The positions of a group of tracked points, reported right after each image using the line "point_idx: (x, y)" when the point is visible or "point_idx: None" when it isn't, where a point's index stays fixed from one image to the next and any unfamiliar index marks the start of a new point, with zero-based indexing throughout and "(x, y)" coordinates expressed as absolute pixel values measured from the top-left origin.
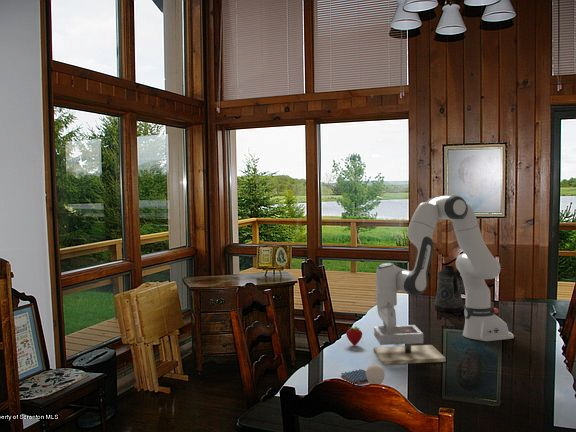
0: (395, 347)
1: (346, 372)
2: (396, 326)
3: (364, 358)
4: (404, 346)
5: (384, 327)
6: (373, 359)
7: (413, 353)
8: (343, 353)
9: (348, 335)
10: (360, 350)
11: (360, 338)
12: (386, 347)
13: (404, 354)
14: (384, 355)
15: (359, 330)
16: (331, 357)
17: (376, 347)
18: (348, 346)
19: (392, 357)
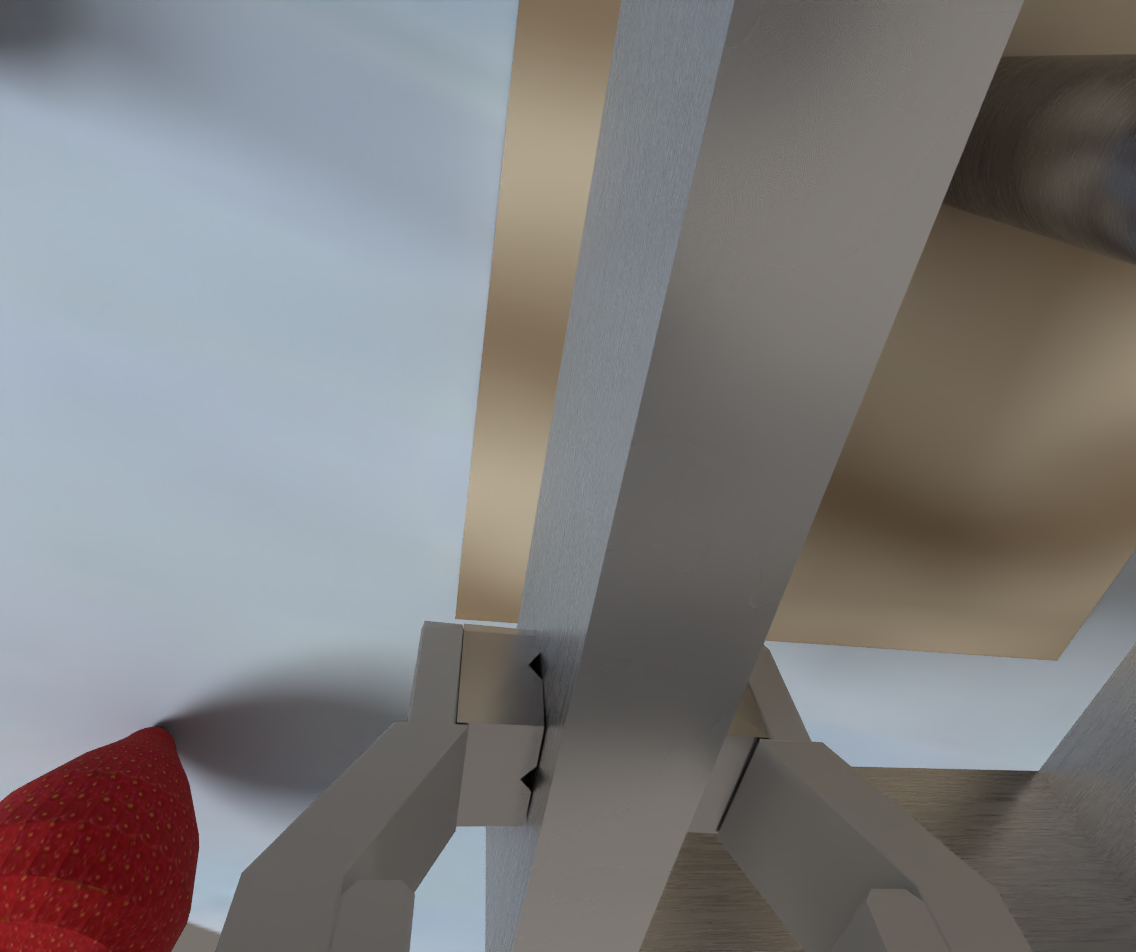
0: (564, 267)
1: None
2: (773, 530)
3: None
4: (557, 10)
5: (652, 888)
6: (803, 663)
7: (1115, 37)
8: (473, 860)
9: None
10: (400, 713)
11: (162, 792)
12: (515, 436)
13: (1037, 267)
14: (887, 582)
15: (39, 941)
16: None
17: (470, 582)
18: (199, 792)
19: (1034, 511)
